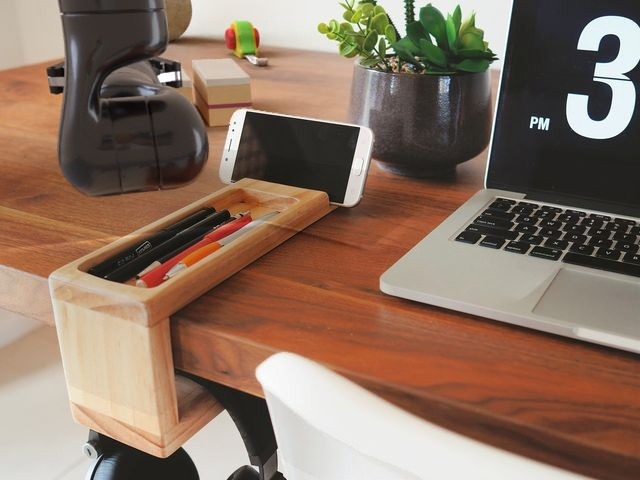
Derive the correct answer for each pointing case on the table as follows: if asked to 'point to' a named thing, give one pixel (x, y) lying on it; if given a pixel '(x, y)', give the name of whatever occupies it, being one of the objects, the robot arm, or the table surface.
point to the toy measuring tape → (244, 42)
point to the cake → (217, 89)
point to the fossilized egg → (178, 17)
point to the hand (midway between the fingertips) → (112, 60)
